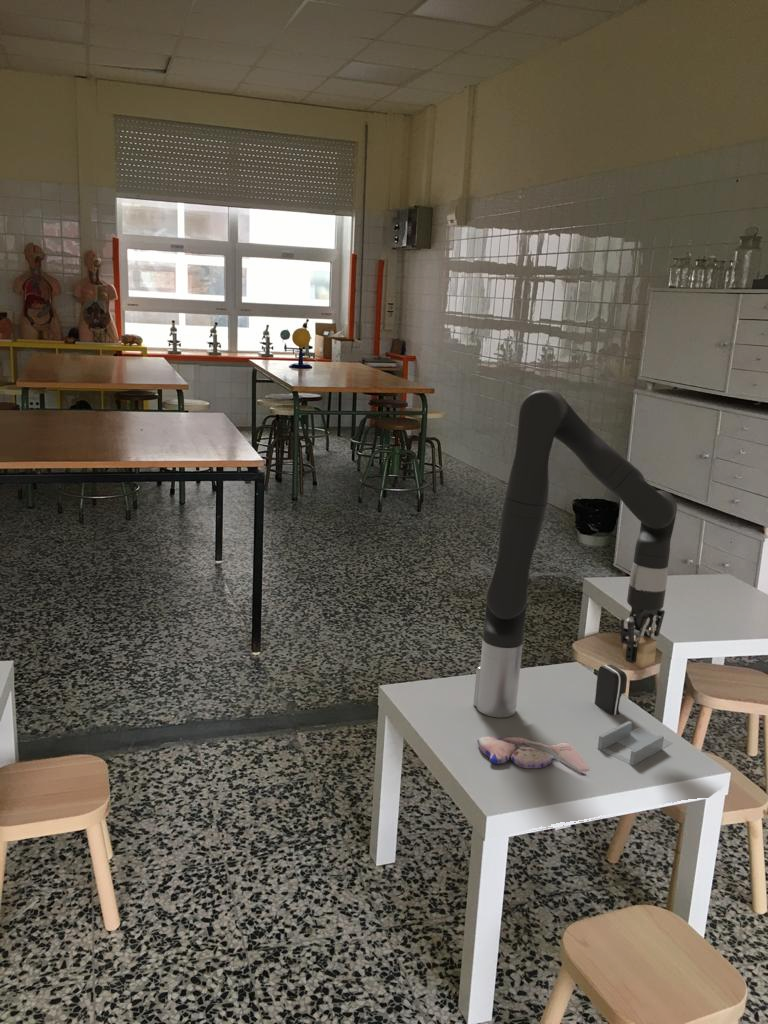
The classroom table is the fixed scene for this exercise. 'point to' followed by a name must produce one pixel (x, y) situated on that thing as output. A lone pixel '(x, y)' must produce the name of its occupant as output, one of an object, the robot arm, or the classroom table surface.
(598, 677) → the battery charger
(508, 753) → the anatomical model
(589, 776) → the classroom table surface
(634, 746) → the channel
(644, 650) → the oak block
